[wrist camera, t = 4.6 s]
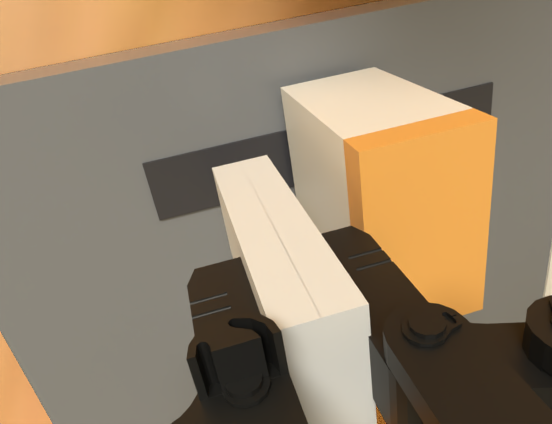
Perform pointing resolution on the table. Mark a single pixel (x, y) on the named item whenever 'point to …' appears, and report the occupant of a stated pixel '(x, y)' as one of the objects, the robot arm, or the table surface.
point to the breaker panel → (202, 189)
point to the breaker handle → (398, 175)
